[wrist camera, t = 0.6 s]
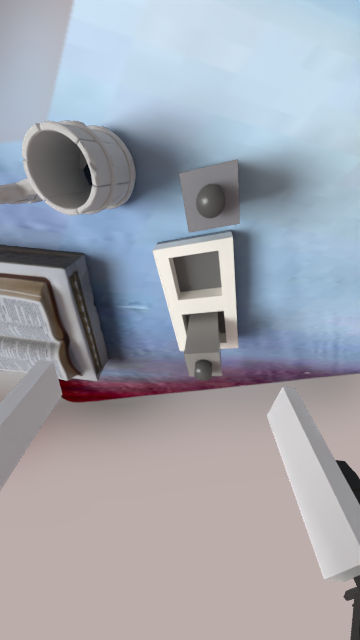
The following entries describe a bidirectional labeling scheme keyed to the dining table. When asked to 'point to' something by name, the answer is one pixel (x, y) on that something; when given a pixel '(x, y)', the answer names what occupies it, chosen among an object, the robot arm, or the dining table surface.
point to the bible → (49, 313)
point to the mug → (73, 168)
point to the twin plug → (203, 346)
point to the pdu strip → (199, 282)
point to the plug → (211, 196)
